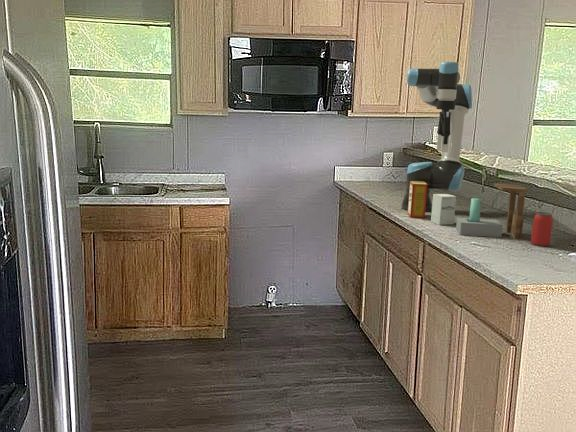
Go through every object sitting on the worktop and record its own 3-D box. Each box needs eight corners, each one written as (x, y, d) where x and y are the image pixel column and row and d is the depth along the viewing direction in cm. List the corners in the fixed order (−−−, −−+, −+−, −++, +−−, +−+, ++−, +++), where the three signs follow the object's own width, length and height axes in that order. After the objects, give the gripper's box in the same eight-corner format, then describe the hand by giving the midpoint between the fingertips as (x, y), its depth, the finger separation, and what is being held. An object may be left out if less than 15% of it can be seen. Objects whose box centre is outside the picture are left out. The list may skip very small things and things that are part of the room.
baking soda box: (424, 218, 254) (427, 183, 251) (410, 217, 255) (413, 183, 251) (421, 214, 263) (424, 180, 260) (407, 213, 264) (410, 180, 261)
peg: (467, 231, 229) (470, 198, 226) (477, 232, 228) (480, 198, 225) (468, 233, 225) (472, 199, 222) (479, 234, 224) (482, 200, 222)
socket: (456, 229, 232) (457, 217, 231) (495, 231, 230) (496, 219, 229) (460, 234, 222) (461, 222, 221) (501, 237, 220) (502, 224, 219)
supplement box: (439, 225, 240) (441, 196, 237) (430, 221, 247) (432, 193, 244) (454, 224, 242) (456, 196, 239) (445, 221, 249) (447, 193, 246)
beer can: (533, 241, 215) (537, 211, 212) (551, 244, 211) (555, 213, 208) (528, 244, 210) (532, 213, 207) (546, 247, 206) (550, 215, 203)
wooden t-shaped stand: (489, 230, 232) (494, 183, 228) (511, 231, 231) (517, 184, 227) (497, 238, 219) (502, 187, 215) (521, 239, 218) (527, 188, 214)
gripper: (433, 100, 245) (429, 148, 249) (441, 99, 221) (436, 152, 225) (450, 100, 244) (446, 149, 248) (460, 100, 220) (455, 153, 224)
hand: (441, 151), depth 236 cm, fingers open, 13 cm apart
